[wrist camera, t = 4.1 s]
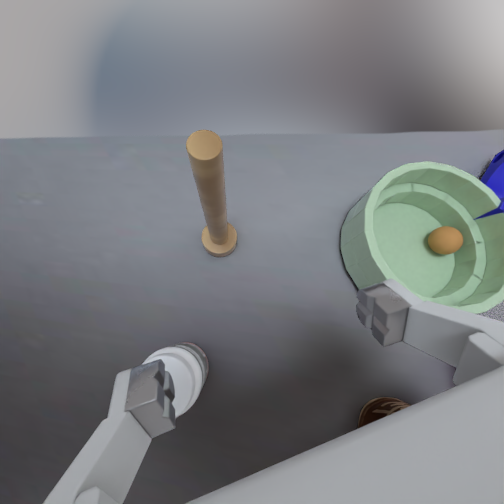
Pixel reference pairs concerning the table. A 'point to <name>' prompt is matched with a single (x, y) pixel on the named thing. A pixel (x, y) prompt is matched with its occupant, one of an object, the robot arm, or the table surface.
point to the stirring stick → (211, 191)
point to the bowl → (418, 230)
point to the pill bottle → (184, 372)
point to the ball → (445, 240)
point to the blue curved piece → (495, 182)
